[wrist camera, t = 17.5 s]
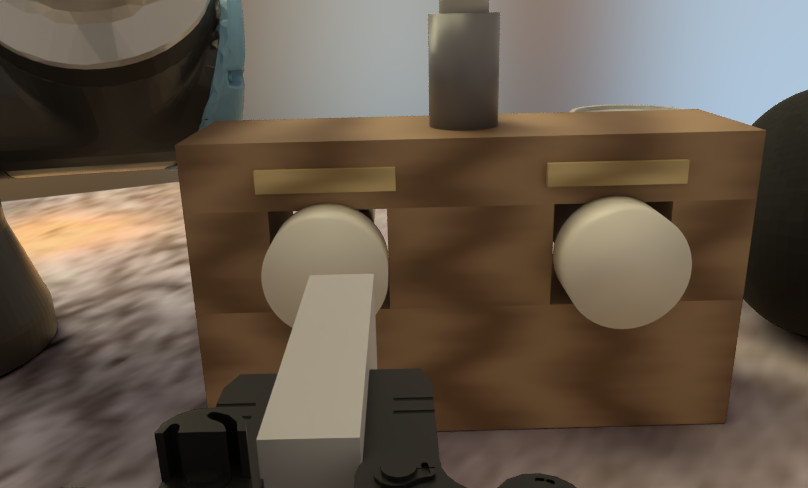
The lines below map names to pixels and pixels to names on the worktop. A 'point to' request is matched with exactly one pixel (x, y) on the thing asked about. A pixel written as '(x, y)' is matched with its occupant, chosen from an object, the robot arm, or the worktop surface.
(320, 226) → the knob
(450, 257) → the mount
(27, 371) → the worktop surface
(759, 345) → the worktop surface
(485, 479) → the worktop surface
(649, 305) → the knob
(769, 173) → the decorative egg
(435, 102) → the grey bottle
